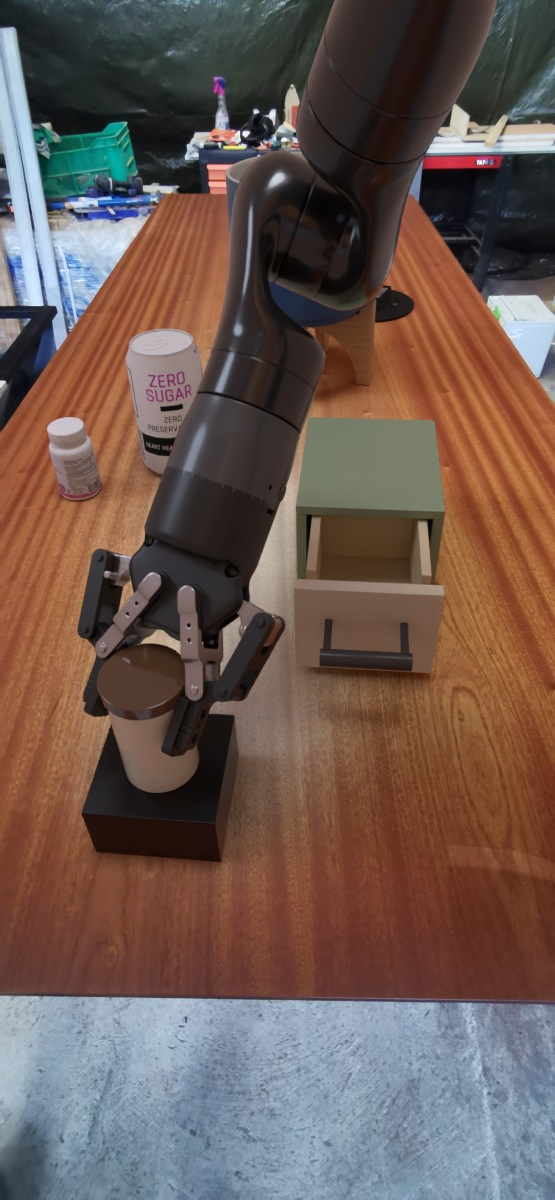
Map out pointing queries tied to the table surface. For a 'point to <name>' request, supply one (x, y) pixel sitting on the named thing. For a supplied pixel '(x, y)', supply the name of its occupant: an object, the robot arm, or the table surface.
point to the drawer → (367, 596)
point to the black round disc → (392, 304)
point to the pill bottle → (73, 459)
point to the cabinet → (370, 476)
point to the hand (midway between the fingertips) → (134, 732)
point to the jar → (146, 713)
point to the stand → (166, 802)
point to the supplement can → (162, 389)
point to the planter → (341, 325)
